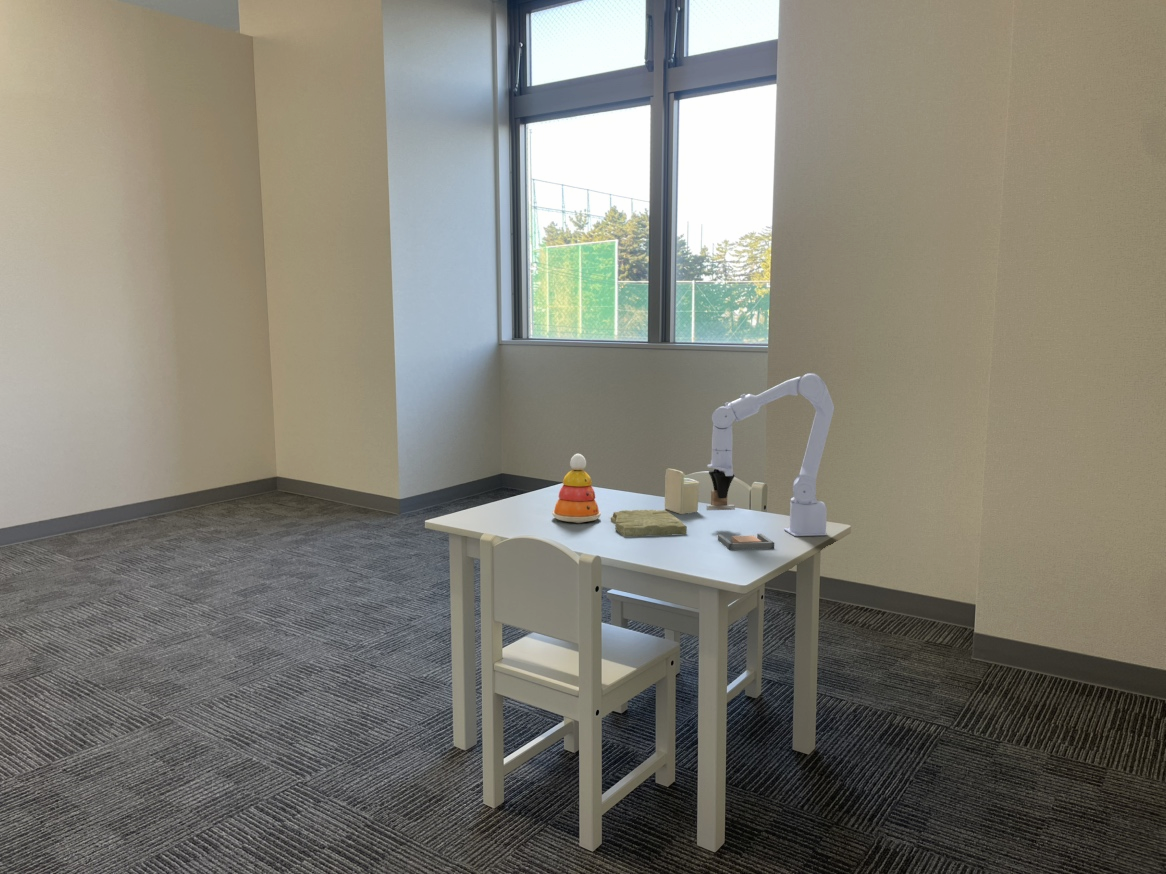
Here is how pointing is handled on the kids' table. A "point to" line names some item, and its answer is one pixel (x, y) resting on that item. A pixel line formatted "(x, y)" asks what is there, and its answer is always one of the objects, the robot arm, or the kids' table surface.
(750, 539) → the terracotta tile
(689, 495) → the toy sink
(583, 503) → the stacking toy
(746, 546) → the slate frame
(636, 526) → the decorative tile
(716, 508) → the walnut scraper
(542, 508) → the kids' table surface
